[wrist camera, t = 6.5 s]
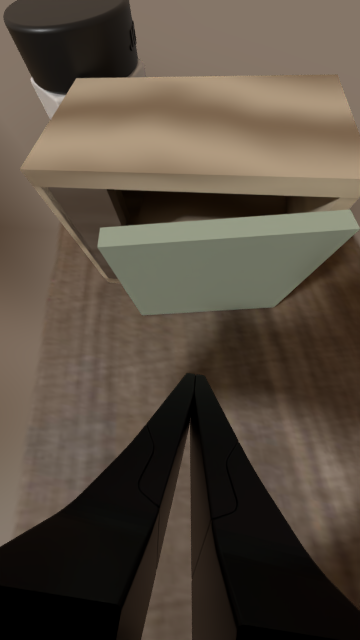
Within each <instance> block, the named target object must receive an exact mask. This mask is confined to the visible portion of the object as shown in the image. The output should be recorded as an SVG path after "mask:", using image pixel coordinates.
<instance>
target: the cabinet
mask: <svg viewBox="0 0 360 640" xmlns="http://www.w3.org/2000/svg"><path fill="white" fill-rule="evenodd" d="M20 170H21V172H22V173H23V174H24V175H25V177H26V178H27V179H28V181H29V182H30V183H31V184H32V186H33V187H34V188H35V189H36V191H37V192H38V193H39V195H40V196H41V197H42V198H43V200H44V201H45V202H46V203H47V205H48V206H49V207H50V209H51V210H52V211H53V212H54V214H55V215H56V216H57V218H58V219H59V220H60V222H61V223H62V224H63V225H64V227H65V228H66V229H67V231H68V232H69V233H70V234H71V236H72V237H73V238H74V239H75V241H76V242H77V243H78V245H79V246H80V247H81V248H82V250H83V251H84V252H85V254H86V255H87V256H88V257H89V259H90V260H91V261H92V263H93V264H94V265H95V266H96V268H97V269H98V270H99V272H100V273H101V274H102V275H103V277H104V278H105V279H106V281H107V282H110V283H121V282H120V281H119V279H118V278H117V276H116V275H115V273H114V272H113V270H112V269H111V267H110V266H109V264H108V263H107V261H106V260H105V258H104V257H103V255H102V254H101V252H100V251H99V249H98V248H97V247H98V239H99V232H100V228H103V227H117V226H130V225H144V224H158V223H172V222H185V221H199V220H213V219H226V218H240V217H254V216H268V215H281V214H295V213H309V212H322V211H336V210H349V209H350V207H351V206H352V205H353V204H354V203H355V202H356V201H357V200H358V198H360V134H359V132H358V129H357V126H356V124H355V121H354V118H353V115H352V113H351V110H350V107H349V104H348V102H347V99H346V96H345V94H344V91H343V88H342V86H341V83H340V80H339V77H338V75H277V76H276V75H272V76H207V77H206V76H205V77H204V76H203V77H131V78H76V80H75V81H74V83H73V84H72V86H71V88H70V89H69V91H68V92H67V94H66V96H65V97H64V99H63V101H62V102H61V104H60V105H59V107H58V109H57V110H56V112H55V113H54V115H53V117H52V118H51V120H50V122H49V123H48V125H47V126H46V128H45V130H44V131H43V133H42V134H41V136H40V138H39V139H38V141H37V143H36V144H35V146H34V147H33V149H32V151H31V152H30V154H29V156H28V157H27V159H26V160H25V162H24V163H23V165H22V167H21V168H20Z"/></svg>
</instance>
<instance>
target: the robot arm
mask: <svg viewBox="0 0 360 640" xmlns="http://www.w3.org/2000/svg"><path fill="white" fill-rule="evenodd" d="M190 418H191V419H190ZM189 425H190V477H191V571H192V640H360V611H359V610H358V609H357V608H356V607H355V606H354V605H353V604H352V603H351V601H350V600H349V599H348V598H347V597H346V596H345V595H344V594H343V593H342V592H341V591H340V590H339V589H338V588H337V587H336V586H335V585H334V584H333V583H332V582H331V581H330V580H329V579H328V578H327V577H326V576H325V574H324V573H323V572H322V571H321V570H320V569H319V567H318V566H317V565H316V563H315V562H314V561H313V560H312V558H311V557H310V556H309V554H308V553H307V552H306V550H305V549H304V547H303V546H302V544H301V543H300V541H299V540H298V538H297V537H296V535H295V534H294V532H293V530H292V529H291V527H290V526H289V524H288V523H287V521H286V519H285V518H284V516H283V515H282V513H281V512H280V510H279V509H278V507H277V505H276V504H275V502H274V501H273V499H272V498H271V496H270V494H269V493H268V491H267V490H266V488H265V487H264V485H263V483H262V482H261V480H260V478H259V477H258V475H257V474H256V472H255V470H254V469H253V467H252V465H251V463H250V461H249V460H248V458H247V456H246V454H245V452H244V450H243V448H242V447H241V445H240V443H239V442H238V439H237V437H236V435H235V433H234V431H233V429H232V427H231V426H230V424H229V422H228V420H227V418H226V416H225V414H224V412H223V410H222V408H221V406H220V404H219V402H218V401H217V399H216V397H215V395H214V393H213V391H212V389H211V387H210V385H209V383H208V381H207V379H206V377H205V376H204V375H199V374H196V376H195V374H192V373H186V375H185V376H184V377H183V378H182V380H181V381H180V382H179V383H178V385H177V386H176V387H175V388H174V390H173V391H172V392H171V393H170V395H169V396H168V397H167V399H166V400H165V401H164V402H163V404H162V405H161V406H160V407H159V409H158V410H157V411H156V412H155V414H154V415H153V416H152V417H151V419H150V420H149V421H148V422H147V424H146V425H145V426H144V427H143V429H142V430H141V431H140V432H139V434H138V435H137V436H136V437H135V438H134V440H133V441H132V442H131V443H130V444H129V445H128V446H127V447H126V449H125V450H124V451H123V452H122V453H121V454H120V455H119V456H118V457H117V458H116V459H115V460H114V461H113V462H112V463H111V464H110V465H109V466H108V467H107V468H106V469H105V470H104V471H103V472H102V473H101V474H100V475H99V476H98V477H97V478H96V479H95V480H94V481H93V482H92V483H91V484H90V485H89V486H88V487H87V488H86V489H85V490H84V491H83V492H82V493H81V494H80V495H79V496H78V497H77V498H76V499H75V500H74V501H72V502H71V503H70V504H69V505H67V506H66V507H65V508H64V509H62V510H61V511H59V512H58V513H56V514H55V515H53V516H51V517H50V518H48V519H46V520H45V521H43V522H41V523H40V524H38V525H36V526H35V527H33V528H31V529H29V530H28V531H26V532H24V533H23V534H21V535H19V536H18V537H16V538H14V539H13V540H11V541H9V542H7V543H6V544H4V545H2V546H1V547H0V640H141V637H142V632H143V628H144V624H145V619H146V615H147V610H148V606H149V602H150V597H151V593H152V588H153V584H154V580H155V575H156V569H157V566H158V562H159V558H160V553H161V549H162V544H163V540H164V535H165V531H166V527H167V522H168V518H169V513H170V509H171V505H172V500H173V496H174V491H175V487H176V483H177V478H178V474H179V469H180V465H181V461H182V456H183V452H184V447H185V443H186V439H187V434H188V430H189Z"/></svg>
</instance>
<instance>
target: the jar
mask: <svg viewBox="0 0 360 640" xmlns="http://www.w3.org/2000/svg"><path fill="white" fill-rule="evenodd" d="M4 22H5V25H6V26H7V28H8V30H9V32H10V34H11V36H12V38H13V40H14V42H15V44H16V46H17V48H18V50H19V52H20V54H21V56H22V58H23V60H24V62H25V64H26V66H27V68H28V70H29V72H30V74H31V76H32V77H31V83H32V85H33V87H34V89H35V91H36V93H37V95H38V97H39V99H40V101H41V102H42V104H43V106H44V108H45V110H46V112H47V114H48V116H49V118H50V120H51V118H52V117H53V115H54V113H55V112H56V110H57V109H58V107H59V105H60V104H61V102H62V101H63V99H64V97H65V96H66V94H67V92H68V91H69V89H70V88H71V86H72V84H73V83H74V81H75V80H76V78H131V77H146V73H145V65H144V62H143V61H142V60H140V59H138V56H137V50H136V36H135V29H134V23H133V21H132V17H131V11H130V4H129V0H17V1H15V2H14V3H12V4H11V5H10V6H9V7H8V8H7V9H6V10H5V12H4Z"/></svg>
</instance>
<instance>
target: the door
mask: <svg viewBox="0 0 360 640" xmlns="http://www.w3.org/2000/svg"><path fill="white" fill-rule="evenodd" d="M359 229H360V228H359V226H358V224H357V222H356V220H355V218H354V216H353V214H352V212H351V210H336V211H322V212H309V213H295V214H281V215H268V216H254V217H240V218H226V219H213V220H199V221H185V222H172V223H158V224H144V225H130V226H117V227H103V228H100V232H99V239H98V247H97V248H98V249H99V251H100V252H101V254H102V255H103V257H104V258H105V260H106V261H107V263H108V264H109V266H110V267H111V269H112V270H113V272H114V273H115V275H116V276H117V278H118V279H119V281H120V282H121V284H122V285H123V287H124V289H125V290H126V292H127V293H128V295H129V296H130V298H131V299H132V301H133V302H134V304H135V305H136V307H137V308H138V310H139V311H140V313H141V314H142V315H155V314H171V313H188V312H204V311H221V310H237V309H254V308H270V307H275V306H276V305H277V304H278V303H279V302H280V301H281V300H283V299H284V298H285V297H286V296H287V295H288V294H289V293H290V292H291V291H292V290H294V289H295V288H296V287H297V286H298V285H299V284H300V283H301V282H302V281H303V280H304V279H306V278H307V277H308V276H309V275H310V274H311V273H312V272H313V271H314V270H315V269H317V268H318V267H319V266H320V265H321V264H322V263H323V262H324V261H325V260H326V259H328V258H329V257H330V256H331V255H332V254H333V253H334V252H335V251H336V250H337V249H339V248H340V247H341V246H342V245H343V244H344V243H345V242H346V241H347V240H348V239H350V238H351V237H352V236H353V235H354V234H355V233H356V232H357V231H358V230H359Z"/></svg>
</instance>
